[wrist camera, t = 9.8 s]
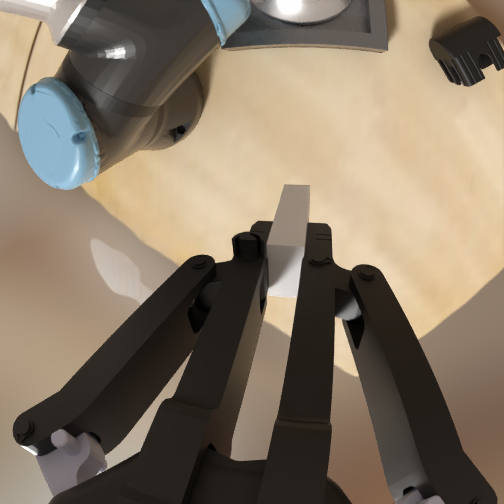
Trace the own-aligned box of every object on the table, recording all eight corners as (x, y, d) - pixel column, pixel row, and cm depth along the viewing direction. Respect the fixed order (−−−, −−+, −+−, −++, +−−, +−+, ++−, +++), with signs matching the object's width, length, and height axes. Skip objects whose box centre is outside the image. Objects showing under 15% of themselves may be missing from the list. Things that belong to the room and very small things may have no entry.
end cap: (466, 18, 21) (489, 13, 15) (491, 61, 23) (516, 62, 17) (420, 41, 26) (439, 36, 20) (448, 85, 28) (469, 88, 22)
